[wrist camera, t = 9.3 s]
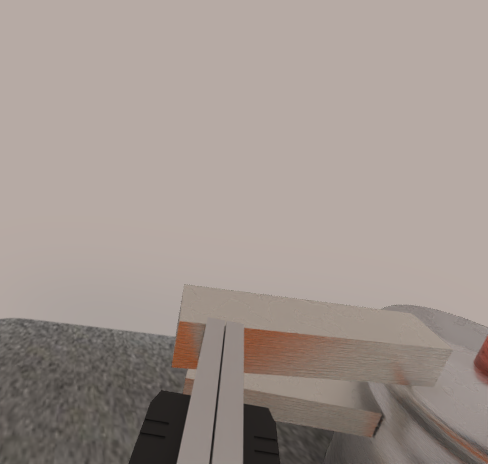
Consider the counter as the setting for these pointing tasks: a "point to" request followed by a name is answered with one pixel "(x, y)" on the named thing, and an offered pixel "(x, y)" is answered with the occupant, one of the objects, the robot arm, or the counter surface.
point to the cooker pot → (345, 418)
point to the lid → (359, 354)
